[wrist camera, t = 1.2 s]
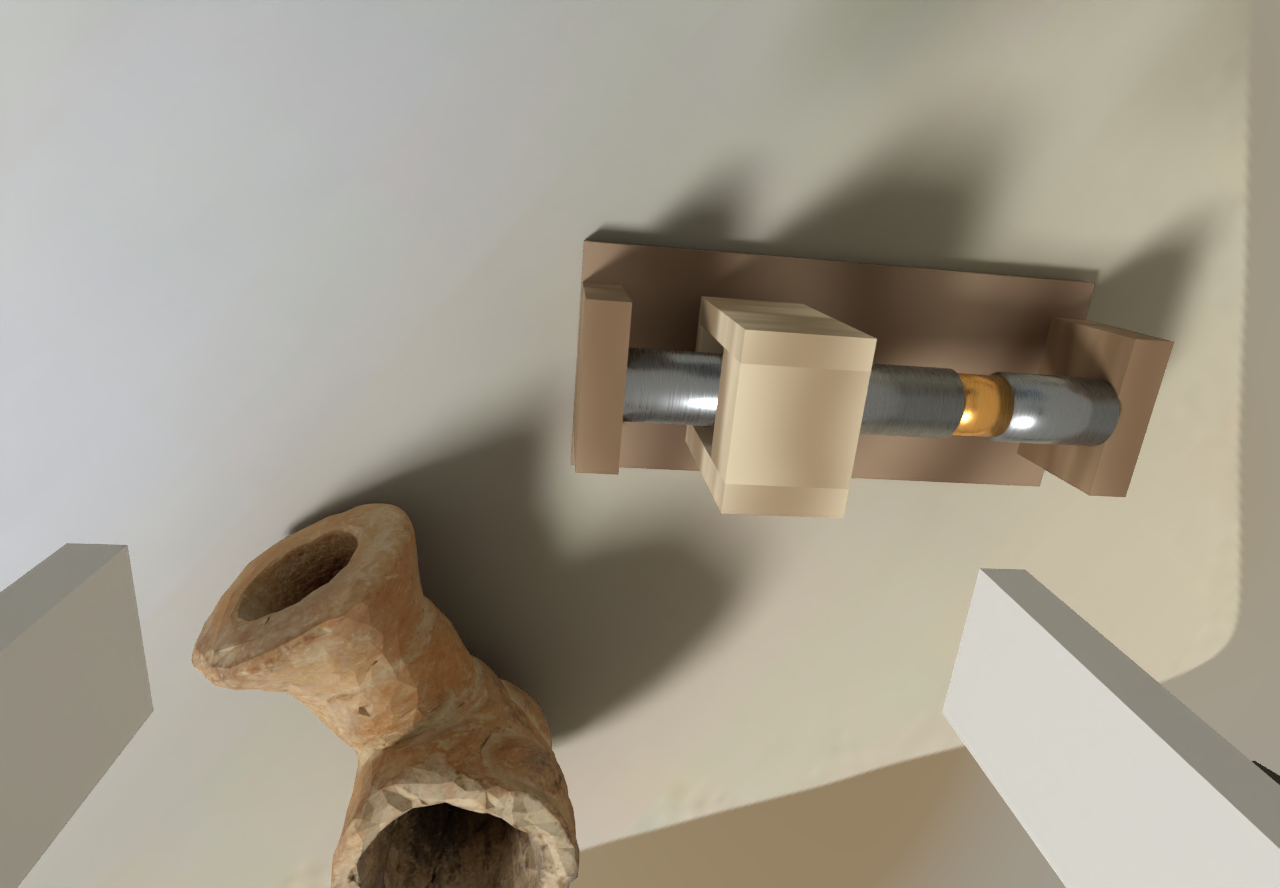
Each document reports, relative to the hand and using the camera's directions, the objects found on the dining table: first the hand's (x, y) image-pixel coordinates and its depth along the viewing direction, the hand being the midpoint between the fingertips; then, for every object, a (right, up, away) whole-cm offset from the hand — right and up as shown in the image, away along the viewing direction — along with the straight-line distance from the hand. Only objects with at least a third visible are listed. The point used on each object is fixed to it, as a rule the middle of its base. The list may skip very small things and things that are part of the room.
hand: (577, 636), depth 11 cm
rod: (+9, +5, +17) cm, 20 cm away
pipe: (-8, -6, +23) cm, 25 cm away
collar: (+5, +6, +18) cm, 20 cm away
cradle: (+9, +6, +20) cm, 23 cm away
